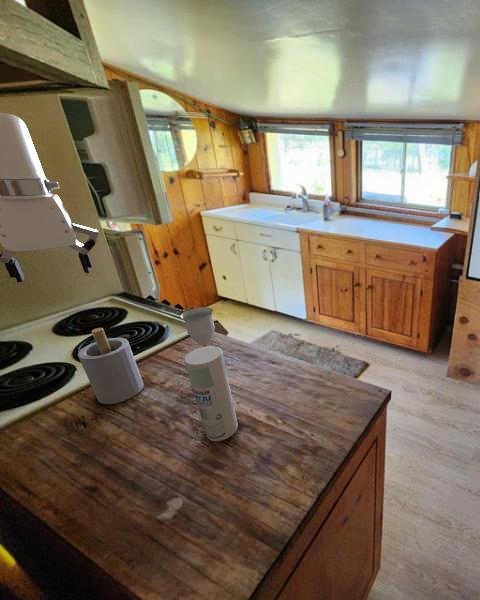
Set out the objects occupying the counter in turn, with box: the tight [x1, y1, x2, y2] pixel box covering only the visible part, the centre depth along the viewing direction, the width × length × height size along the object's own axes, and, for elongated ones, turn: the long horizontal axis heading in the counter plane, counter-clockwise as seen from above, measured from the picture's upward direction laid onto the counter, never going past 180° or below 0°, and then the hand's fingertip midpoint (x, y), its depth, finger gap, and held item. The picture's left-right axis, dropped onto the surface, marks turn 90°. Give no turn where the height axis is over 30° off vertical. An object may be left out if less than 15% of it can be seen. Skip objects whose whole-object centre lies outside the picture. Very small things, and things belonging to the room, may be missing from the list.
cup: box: [77, 337, 144, 405], centre depth 79 cm, size 9×9×13 cm
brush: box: [91, 327, 112, 355], centre depth 78 cm, size 4×4×17 cm
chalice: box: [180, 306, 216, 347], centre depth 87 cm, size 7×7×18 cm
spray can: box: [183, 345, 239, 442], centre depth 68 cm, size 6×6×20 cm
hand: (55, 275), depth 67 cm, fingers open, 9 cm apart
